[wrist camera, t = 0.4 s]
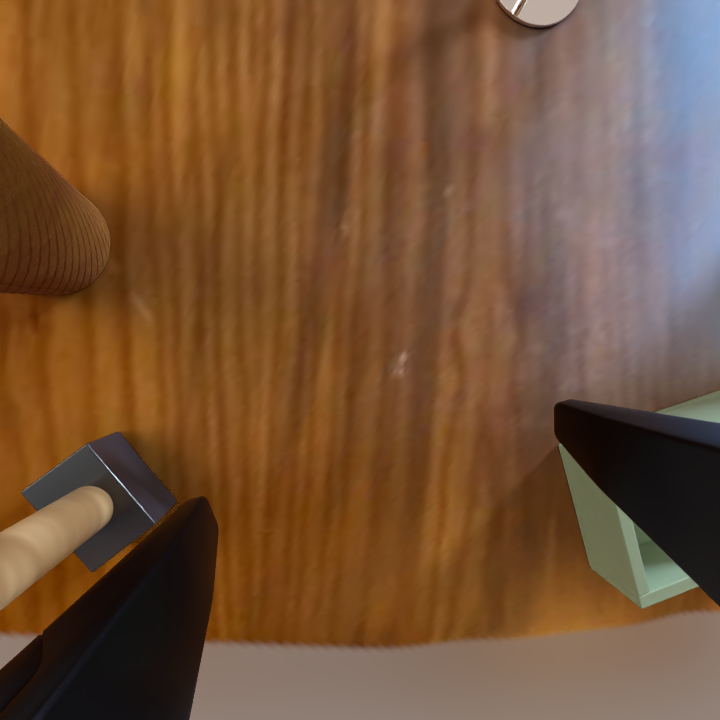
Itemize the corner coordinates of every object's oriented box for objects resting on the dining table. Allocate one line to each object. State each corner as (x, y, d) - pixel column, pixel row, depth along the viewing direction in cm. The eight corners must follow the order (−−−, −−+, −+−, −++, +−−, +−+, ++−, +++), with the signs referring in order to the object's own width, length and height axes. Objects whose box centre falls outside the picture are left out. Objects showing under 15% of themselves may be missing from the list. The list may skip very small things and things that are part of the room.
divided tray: (798, 489, 27) (883, 513, 23) (589, 567, 25) (642, 609, 21) (771, 371, 26) (854, 375, 22) (557, 444, 25) (604, 462, 21)
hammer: (178, 501, 22) (-23, 713, 9) (122, 543, 22) (-167, 824, 9) (118, 430, 22) (-182, 549, 9) (61, 472, 21) (-340, 660, 8)
